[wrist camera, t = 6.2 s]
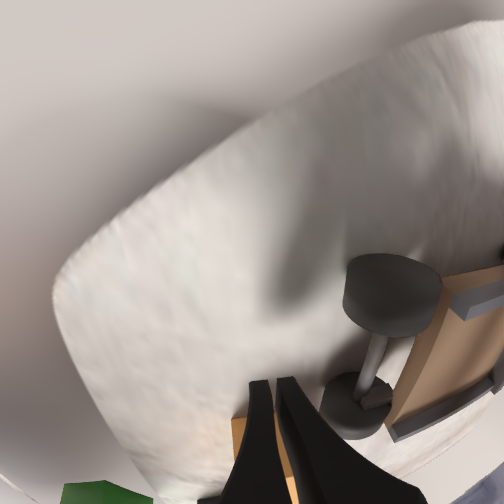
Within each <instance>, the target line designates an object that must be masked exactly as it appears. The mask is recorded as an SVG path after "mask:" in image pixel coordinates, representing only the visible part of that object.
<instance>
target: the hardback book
mask: <svg viewBox="0 0 504 504" xmlns="http://www.w3.org/2000/svg"><path fill="white" fill-rule="evenodd" d="M60 504H153V498H150V497H147V496H144V495H141V494H139V493H136V492H133V491H130V490H128V489H125V488H122V487H120V486H118V485H115V484H113V483H111V482H108V481H106V480H103V481H95V482H83V483H68V484H64V488H63V493H62V497H61V502H60Z"/></svg>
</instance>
